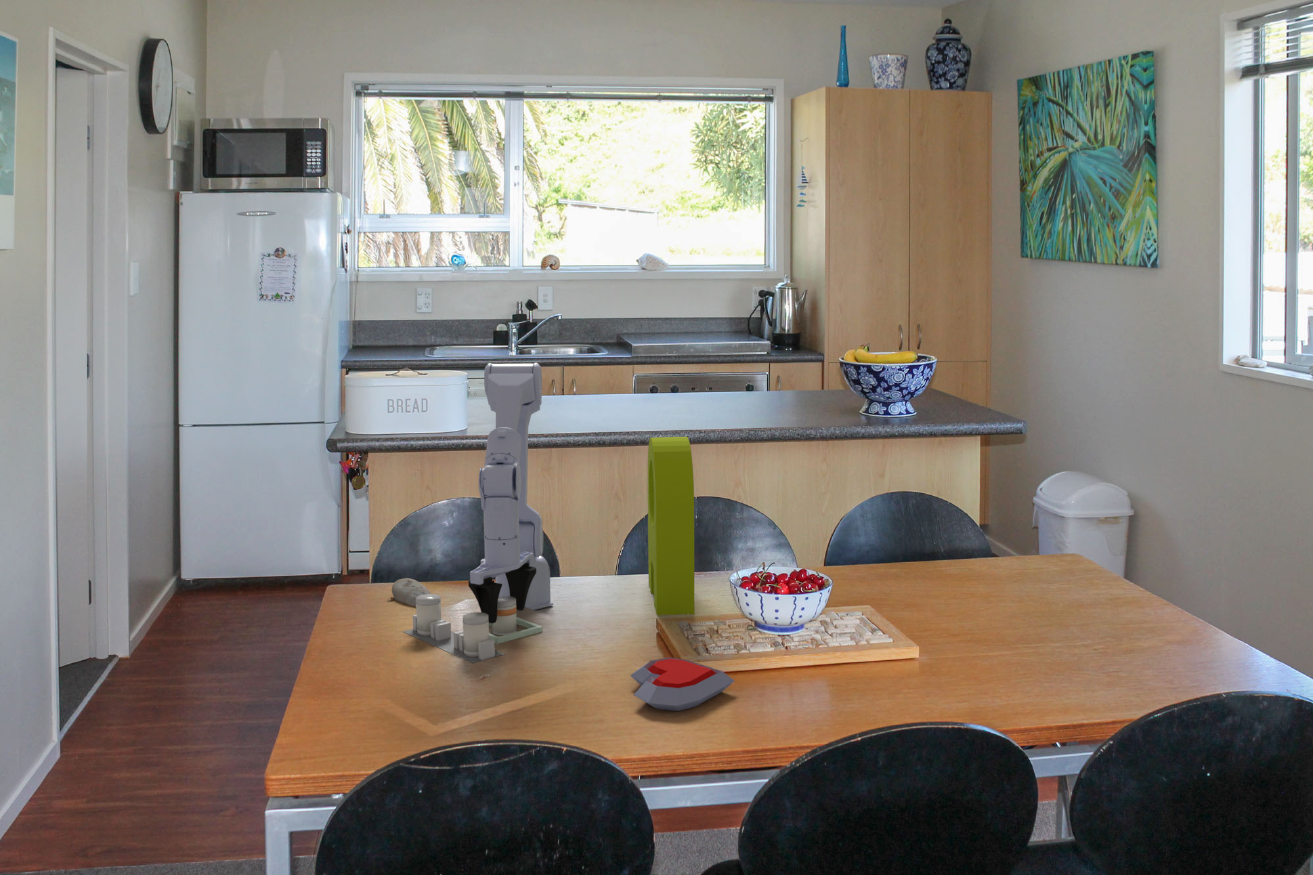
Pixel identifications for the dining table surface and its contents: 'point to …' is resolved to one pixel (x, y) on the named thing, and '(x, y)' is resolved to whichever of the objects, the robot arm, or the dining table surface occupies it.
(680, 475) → the decorative object
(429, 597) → the fuse
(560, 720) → the dining table surface
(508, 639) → the tray
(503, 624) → the cylinder
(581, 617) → the dining table surface
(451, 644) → the fuse holder
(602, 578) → the dining table surface
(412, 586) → the decorative stone
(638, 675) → the sculpture
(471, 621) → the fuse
